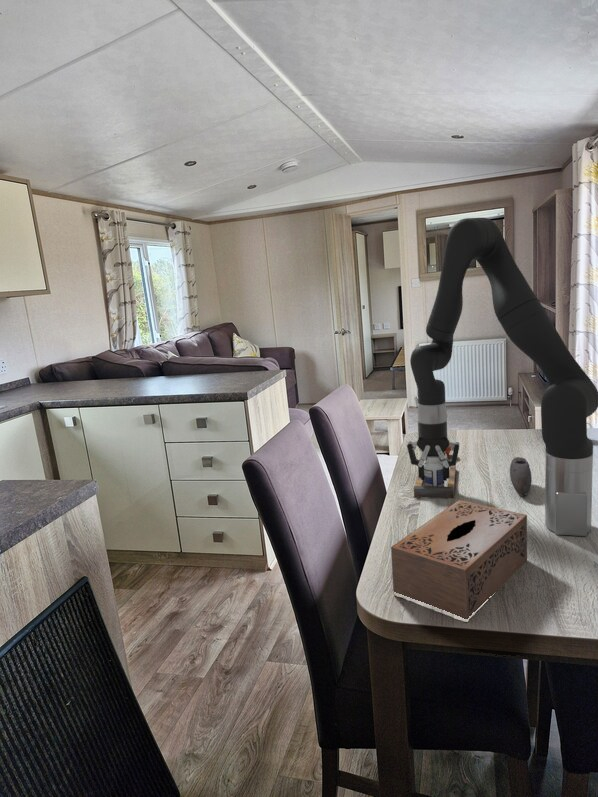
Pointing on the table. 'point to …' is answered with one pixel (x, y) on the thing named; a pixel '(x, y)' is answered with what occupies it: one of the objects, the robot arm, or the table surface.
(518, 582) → the table surface
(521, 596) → the table surface
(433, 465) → the pill bottle
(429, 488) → the guide channel
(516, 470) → the perforated stone tool
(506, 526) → the tissue box cover
